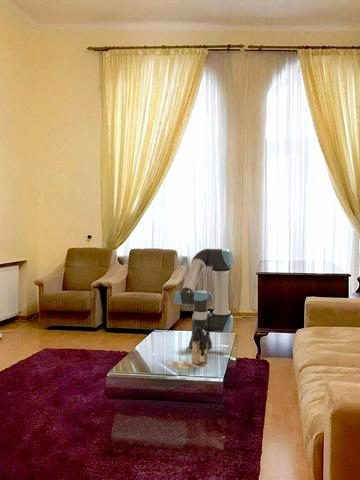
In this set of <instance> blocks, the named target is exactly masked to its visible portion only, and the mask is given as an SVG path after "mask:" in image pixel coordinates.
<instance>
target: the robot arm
mask: <svg viewBox="0 0 360 480" xmlns="http://www.w3.org/2000/svg"><path fill="white" fill-rule="evenodd" d="M233 257H234V256H233V253H232V251H231V250H230V249H226V248H203V249H202V250H200V251H198V252H197V253H196V254H195V255H194V256H193V257H192V259H191V262H190V268H189V269H188V273H187V275H186V278H185V279H184V282H183V285H182V288H181V290H177V291H175V292H174V295H173V299H174V300H173V301H174V303H175V305H185V306H193V313H192V316H191V317H192V319H191V337H190V339H189V342H188V348H189V349H192V341H200V349H199V361H200V362H202V361H204V350H205V349H207V350H210V349H213V342H212V339H211V333H215V334H216V333H218V334H219V333H220V334H229V333H231V331H232V329H233V326H234V315H232V314H231V313H232V312H231V310H229V272H230V271H231V269H232V268H233V267H234V258H233ZM206 268H211V271H212V272H213V273H214V295H213V294H212V293H211V292H207V291H206V290H196V288H197V285H198V282H199V280H200V277H201V276H202V272H203V271H204V270H205V269H206ZM212 303H214V309H213V311H212V313H211V312H210V310H209V311H208V306H210V305H212Z"/></svg>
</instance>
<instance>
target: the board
mask: <svg viewBox="0 0 360 480" xmlns="http://www.w3.org/2000/svg"><path fill="white" fill-rule="evenodd" d="M166 364H167V365H169V366H170V367H172V368H174V369H175V370H185V369H186V370H187V369H197V368H207V367H208V368H209V367H210V368H211V365H209V364H208V363H207V364H198V365H195V364H194V363H192V359H190V360H181V361H168V362H166Z"/></svg>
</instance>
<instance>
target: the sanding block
mask: <svg viewBox="0 0 360 480" xmlns="http://www.w3.org/2000/svg"><path fill="white" fill-rule="evenodd" d="M199 349H200V341H192V348H191V360H192V363H194V364H195V365H198V364H207V365H208V349H205V350H204V361H202V362H200V361H199Z"/></svg>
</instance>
